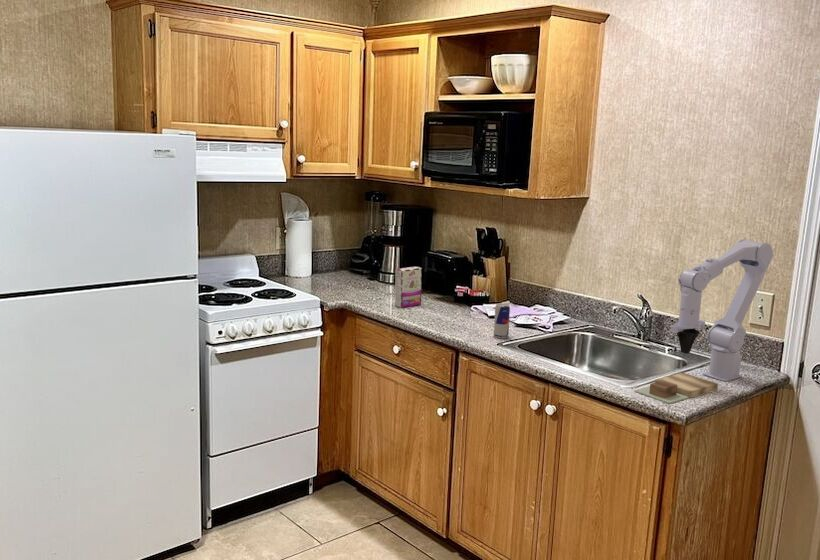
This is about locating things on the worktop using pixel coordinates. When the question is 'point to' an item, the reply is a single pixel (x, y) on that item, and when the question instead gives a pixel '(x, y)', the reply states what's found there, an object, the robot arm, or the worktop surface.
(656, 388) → the walnut block
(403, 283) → the candy bar box
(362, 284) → the worktop surface
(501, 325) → the energy drink
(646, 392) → the sage mat
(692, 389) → the birch board
